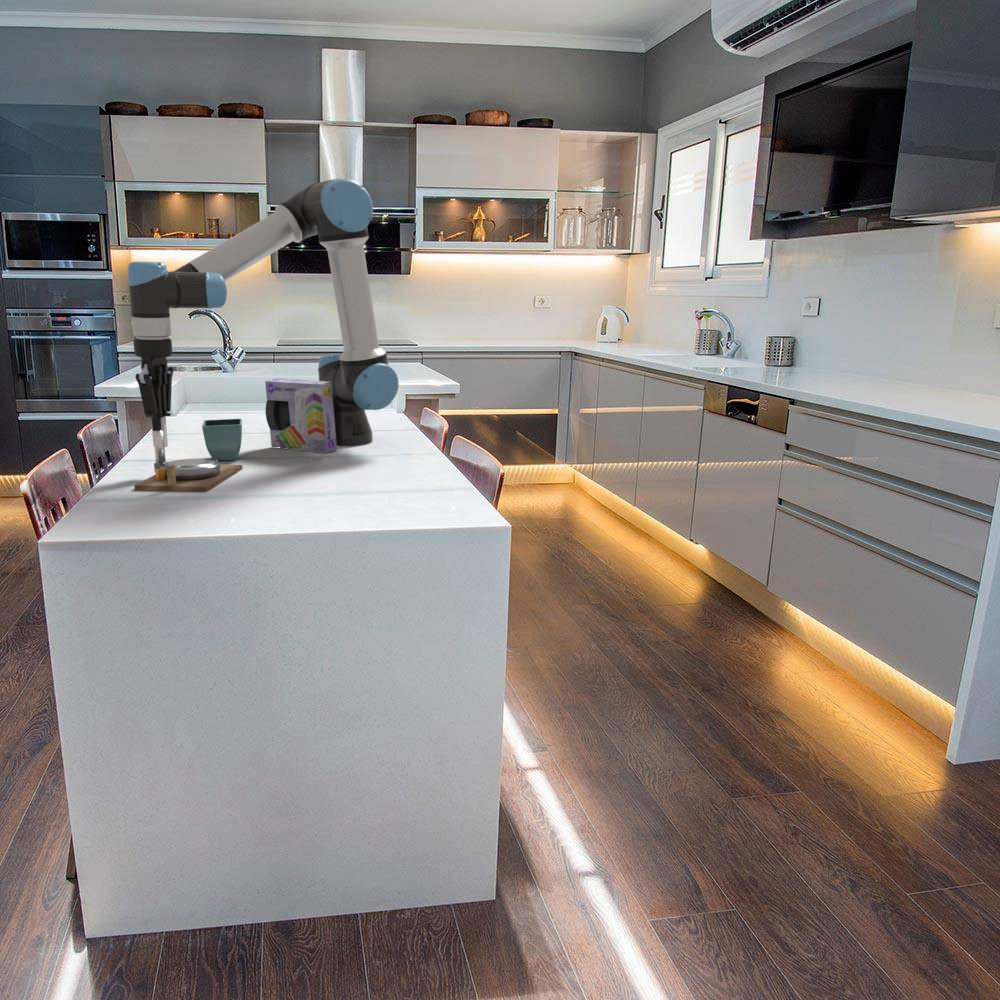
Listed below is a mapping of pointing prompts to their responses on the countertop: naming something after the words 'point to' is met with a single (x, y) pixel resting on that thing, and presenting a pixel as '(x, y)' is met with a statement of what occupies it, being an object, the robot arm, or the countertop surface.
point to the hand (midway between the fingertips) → (160, 446)
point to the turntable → (182, 463)
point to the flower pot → (223, 438)
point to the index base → (187, 485)
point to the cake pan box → (301, 415)
